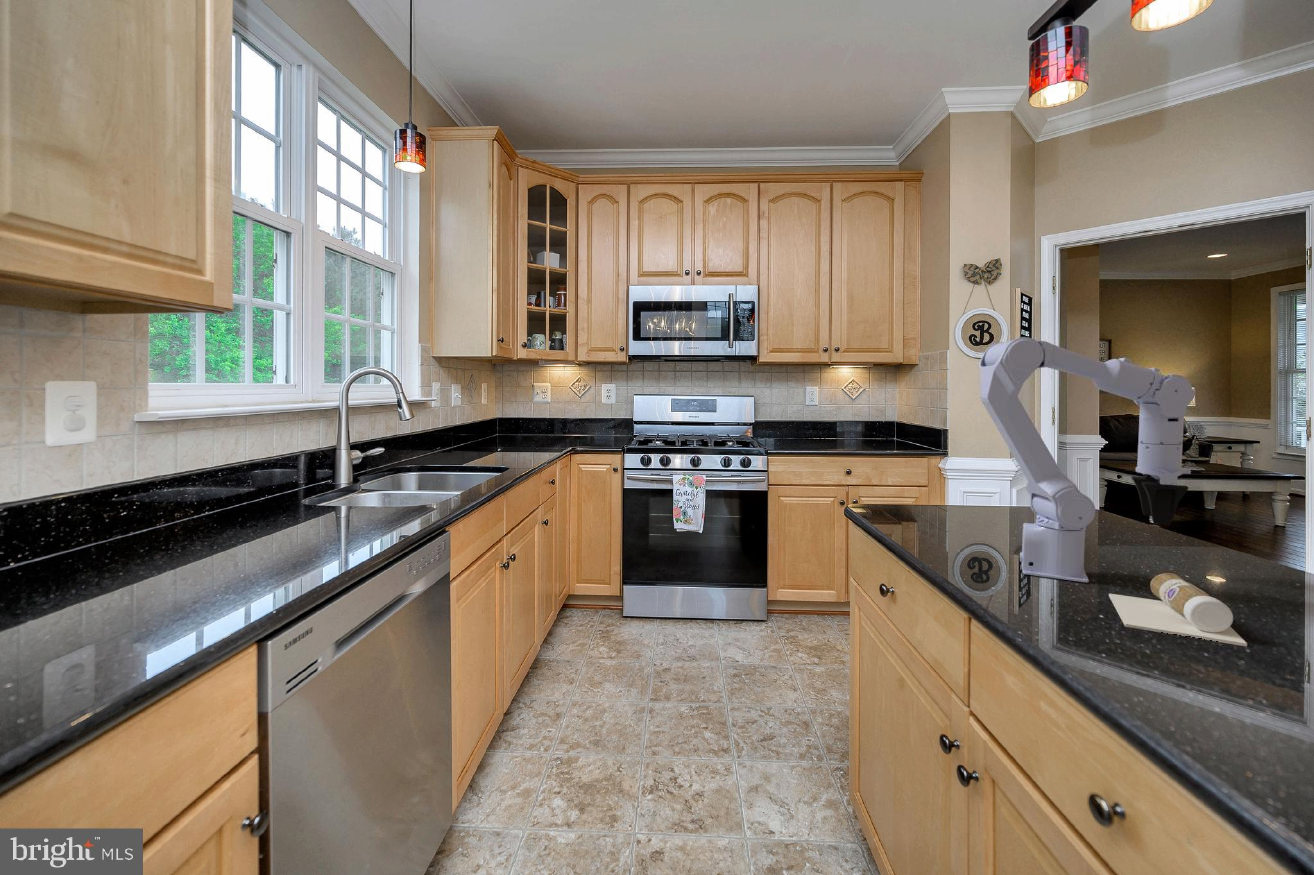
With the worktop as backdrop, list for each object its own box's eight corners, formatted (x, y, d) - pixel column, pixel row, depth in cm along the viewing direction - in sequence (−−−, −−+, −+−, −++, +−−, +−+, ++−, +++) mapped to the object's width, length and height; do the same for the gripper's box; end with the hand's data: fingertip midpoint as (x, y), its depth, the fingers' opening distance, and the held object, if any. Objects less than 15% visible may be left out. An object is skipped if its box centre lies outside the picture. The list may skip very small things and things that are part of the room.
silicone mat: (1125, 626, 76) (1125, 623, 76) (1109, 595, 88) (1109, 593, 88) (1246, 646, 70) (1247, 643, 70) (1211, 610, 82) (1211, 607, 82)
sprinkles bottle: (1153, 568, 86) (1194, 595, 74) (1190, 576, 84) (1238, 605, 72) (1145, 596, 86) (1185, 627, 74) (1182, 604, 85) (1229, 638, 72)
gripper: (1204, 447, 87) (1200, 531, 88) (1179, 441, 99) (1176, 514, 100) (1146, 446, 91) (1142, 526, 92) (1129, 440, 103) (1126, 510, 104)
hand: (1156, 519), depth 96 cm, fingers open, 7 cm apart
